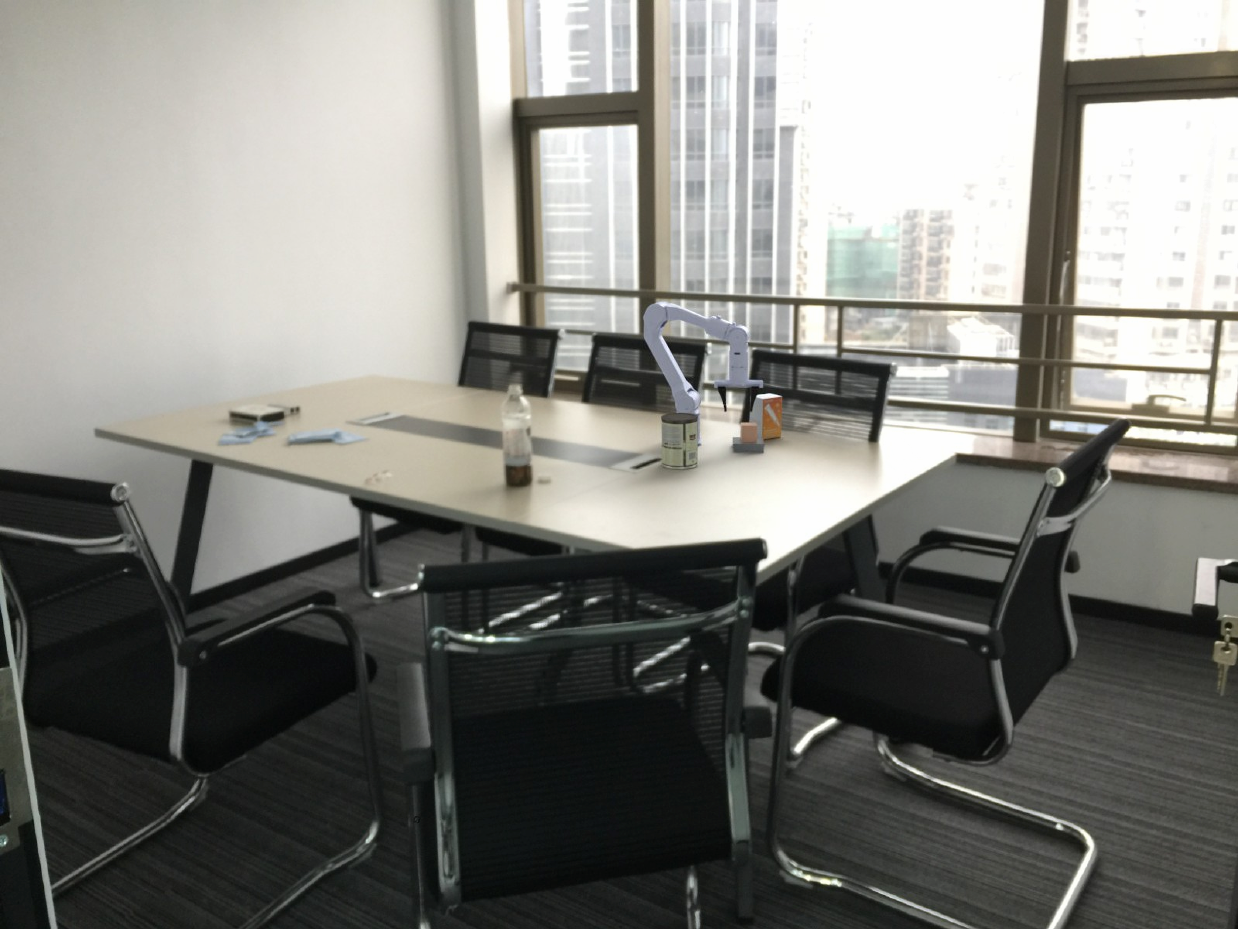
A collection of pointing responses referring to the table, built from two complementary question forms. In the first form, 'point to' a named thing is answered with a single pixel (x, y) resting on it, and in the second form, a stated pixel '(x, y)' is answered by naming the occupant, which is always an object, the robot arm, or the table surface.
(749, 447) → the plate
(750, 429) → the peach block
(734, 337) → the robot arm
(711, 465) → the table surface
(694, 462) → the coffee can
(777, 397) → the small box
